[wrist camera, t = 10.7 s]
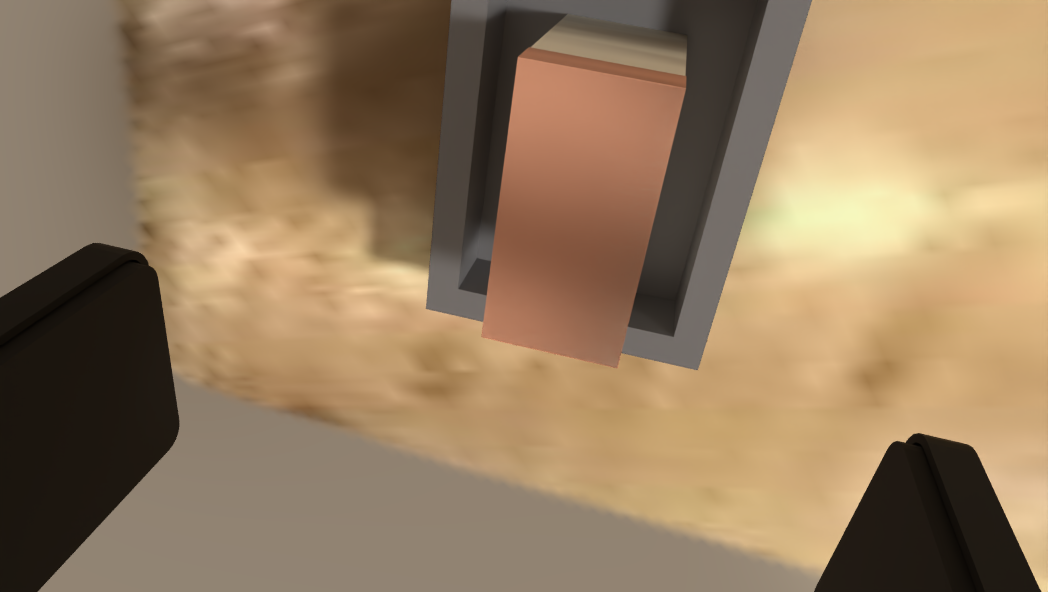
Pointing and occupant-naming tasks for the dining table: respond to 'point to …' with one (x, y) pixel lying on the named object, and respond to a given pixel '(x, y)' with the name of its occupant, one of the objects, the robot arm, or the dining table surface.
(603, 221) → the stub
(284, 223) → the dining table surface
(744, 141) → the tray
